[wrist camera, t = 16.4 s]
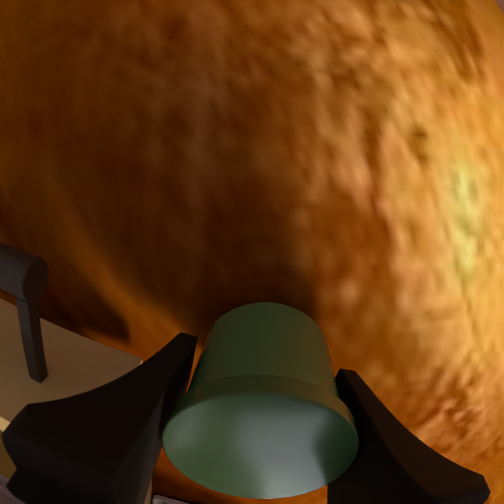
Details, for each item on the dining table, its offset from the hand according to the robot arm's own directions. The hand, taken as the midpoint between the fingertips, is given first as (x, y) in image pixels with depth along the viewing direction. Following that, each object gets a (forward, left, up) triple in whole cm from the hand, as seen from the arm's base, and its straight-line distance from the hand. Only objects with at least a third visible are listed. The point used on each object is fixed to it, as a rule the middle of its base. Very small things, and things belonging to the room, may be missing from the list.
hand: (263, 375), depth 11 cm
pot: (0, 0, -1) cm, 1 cm away
